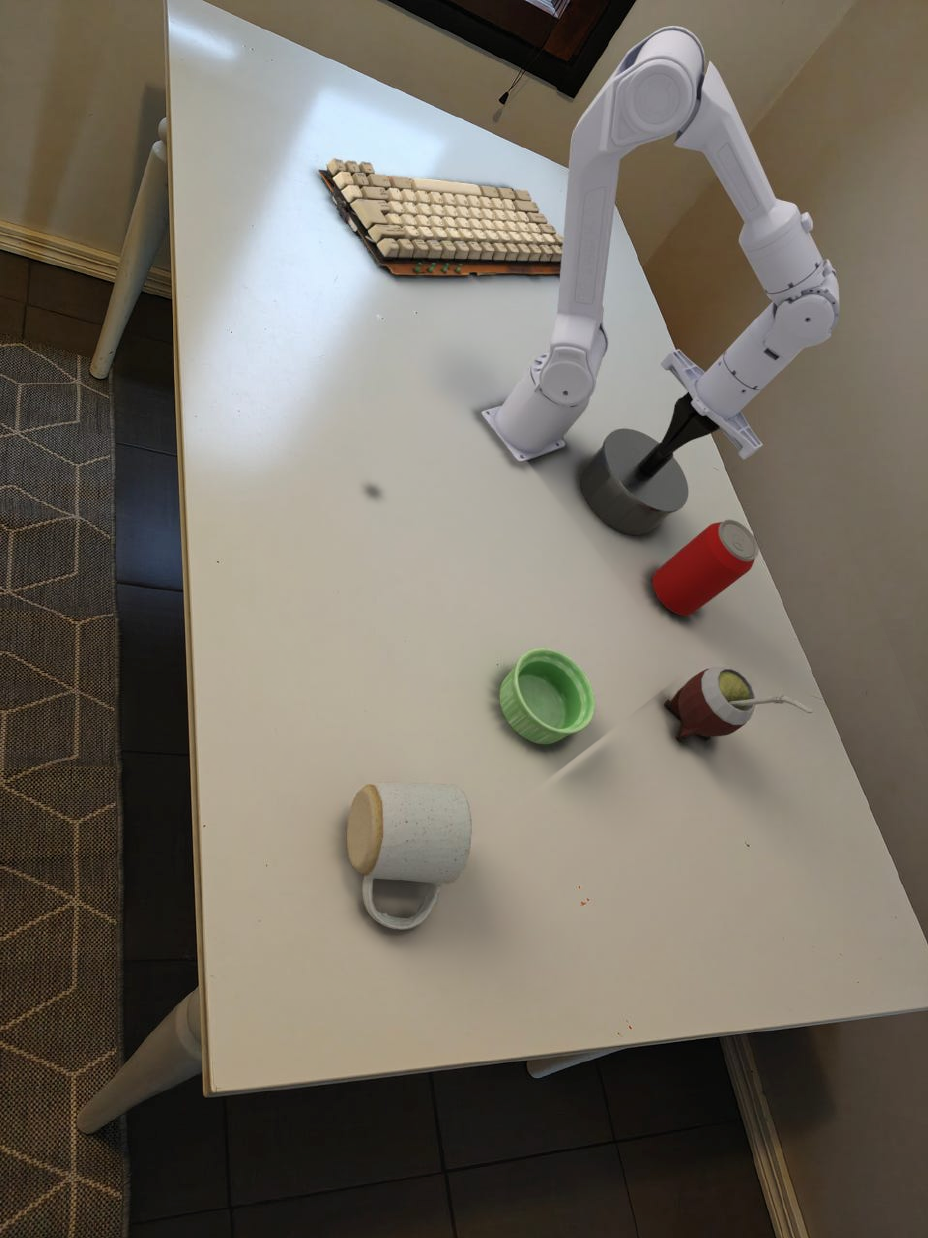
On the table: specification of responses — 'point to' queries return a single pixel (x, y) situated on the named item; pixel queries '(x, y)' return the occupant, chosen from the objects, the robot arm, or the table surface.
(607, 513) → the tin
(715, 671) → the mate gourd
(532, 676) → the ramekin
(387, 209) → the mechanical keyboard
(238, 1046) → the table surface
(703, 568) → the beverage can
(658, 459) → the tin lid
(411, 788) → the ceramic mug
